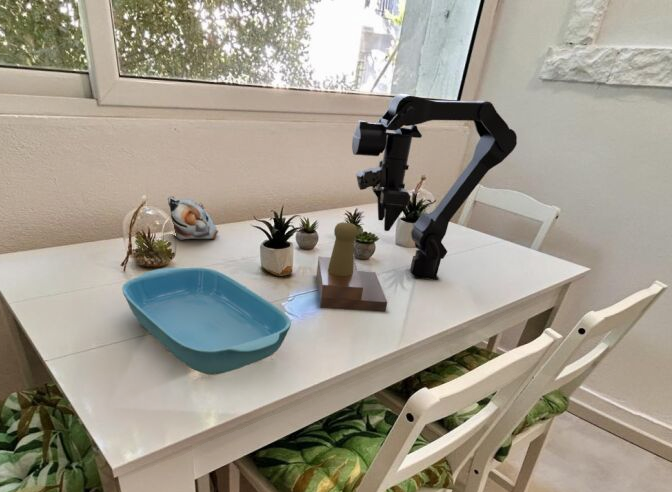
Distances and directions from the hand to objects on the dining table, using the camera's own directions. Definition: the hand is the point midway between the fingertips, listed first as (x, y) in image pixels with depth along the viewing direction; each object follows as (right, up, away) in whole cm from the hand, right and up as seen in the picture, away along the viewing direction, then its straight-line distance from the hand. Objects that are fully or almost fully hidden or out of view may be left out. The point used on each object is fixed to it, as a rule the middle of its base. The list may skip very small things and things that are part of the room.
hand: (383, 225), depth 116 cm
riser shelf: (-9, -18, -5) cm, 21 cm away
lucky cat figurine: (-52, +3, +20) cm, 56 cm away
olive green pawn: (-11, -14, -8) cm, 19 cm away
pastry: (-27, -10, +4) cm, 29 cm away
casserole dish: (-39, -31, -27) cm, 57 cm away
